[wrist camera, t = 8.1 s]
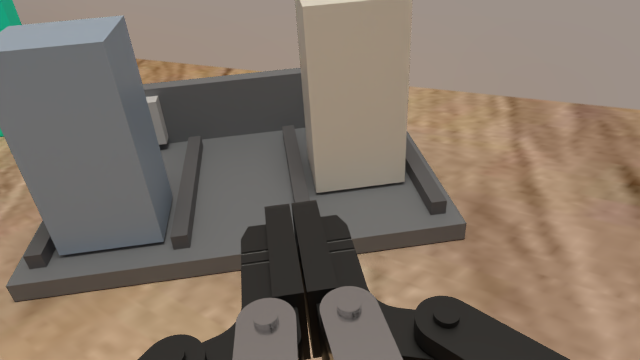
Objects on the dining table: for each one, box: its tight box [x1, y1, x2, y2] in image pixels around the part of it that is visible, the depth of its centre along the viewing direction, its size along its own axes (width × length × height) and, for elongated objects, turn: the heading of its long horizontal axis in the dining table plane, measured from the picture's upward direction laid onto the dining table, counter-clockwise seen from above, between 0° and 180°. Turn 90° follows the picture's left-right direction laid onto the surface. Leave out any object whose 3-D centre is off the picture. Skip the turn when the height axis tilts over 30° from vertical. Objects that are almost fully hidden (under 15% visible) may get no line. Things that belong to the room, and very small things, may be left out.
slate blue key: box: [0, 16, 173, 256], centre depth 23 cm, size 5×4×10 cm
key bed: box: [6, 68, 466, 302], centre depth 28 cm, size 22×14×5 cm, turn 98°
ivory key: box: [295, 0, 412, 193], centre depth 26 cm, size 5×4×10 cm
